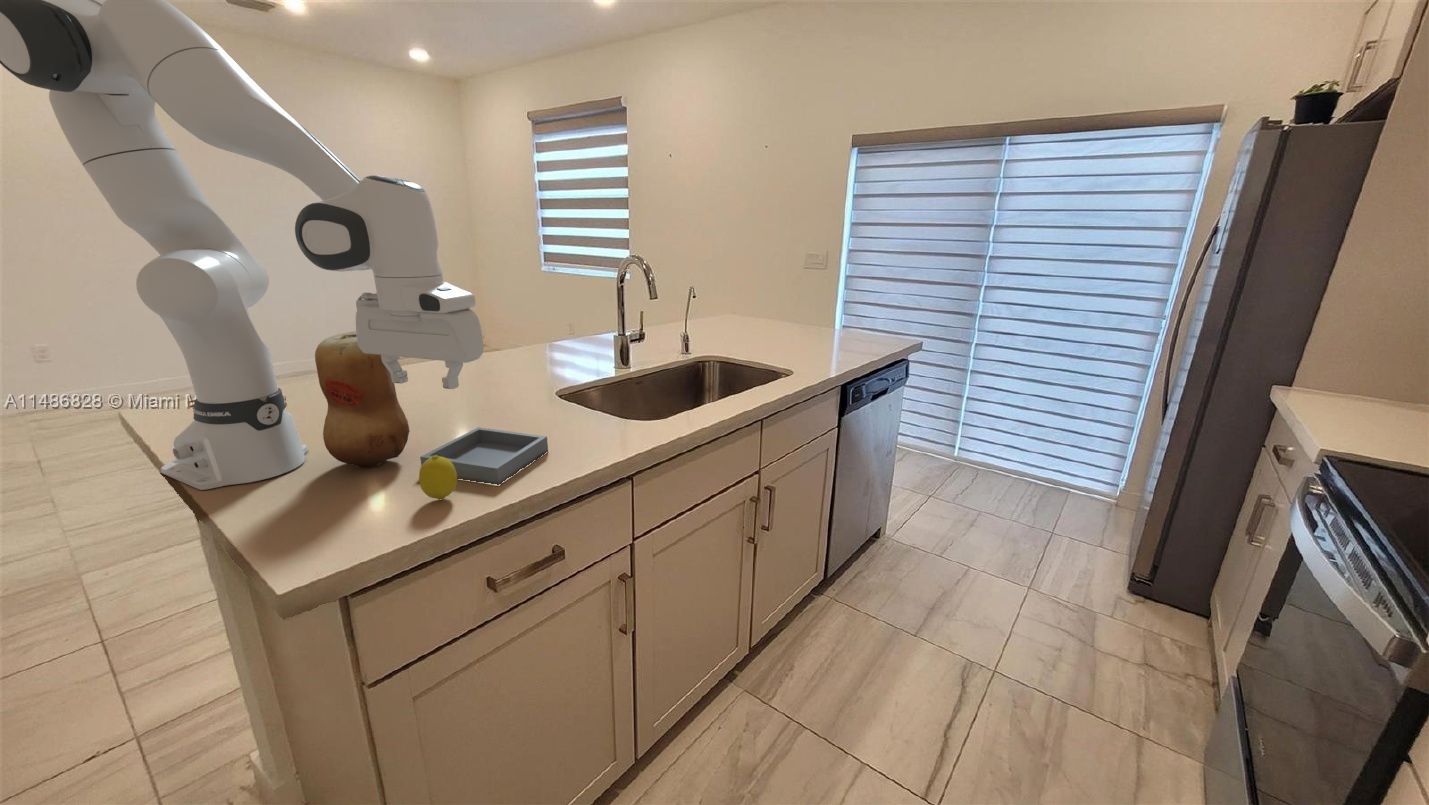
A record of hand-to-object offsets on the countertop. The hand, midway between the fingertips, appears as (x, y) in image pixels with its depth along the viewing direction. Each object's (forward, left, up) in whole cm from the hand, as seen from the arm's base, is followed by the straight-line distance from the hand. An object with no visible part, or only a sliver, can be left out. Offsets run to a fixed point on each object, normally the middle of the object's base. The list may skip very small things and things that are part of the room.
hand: (425, 385), depth 85 cm
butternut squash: (-22, +8, -20) cm, 31 cm away
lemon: (0, 0, -20) cm, 20 cm away
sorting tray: (-2, +15, -20) cm, 25 cm away
